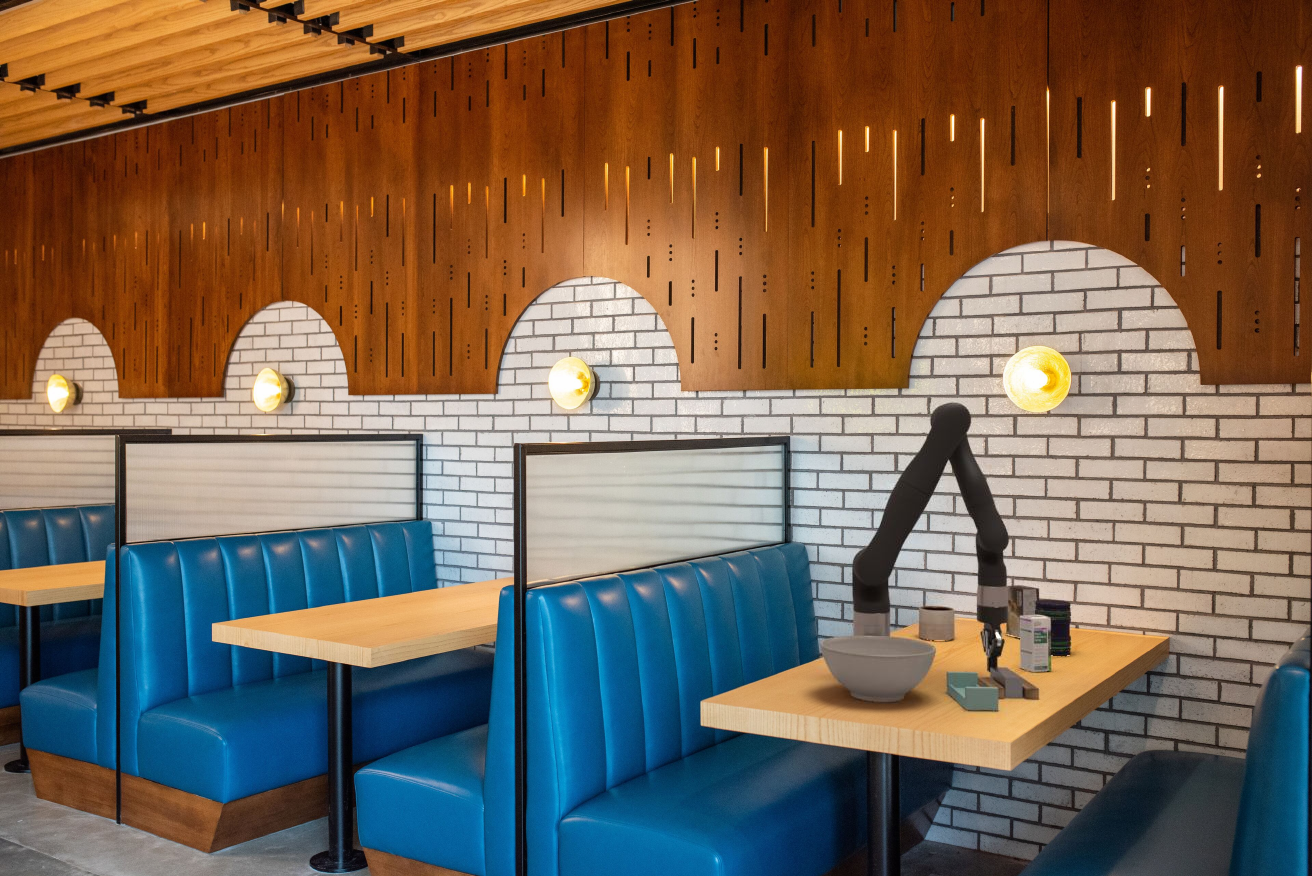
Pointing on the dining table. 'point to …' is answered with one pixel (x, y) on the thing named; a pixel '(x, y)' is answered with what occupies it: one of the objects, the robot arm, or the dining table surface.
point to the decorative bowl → (878, 665)
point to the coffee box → (1020, 606)
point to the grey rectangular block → (1007, 681)
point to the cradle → (971, 691)
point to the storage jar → (1057, 624)
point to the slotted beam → (1027, 688)
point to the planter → (936, 623)
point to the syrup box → (1035, 643)
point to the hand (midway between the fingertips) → (992, 672)
